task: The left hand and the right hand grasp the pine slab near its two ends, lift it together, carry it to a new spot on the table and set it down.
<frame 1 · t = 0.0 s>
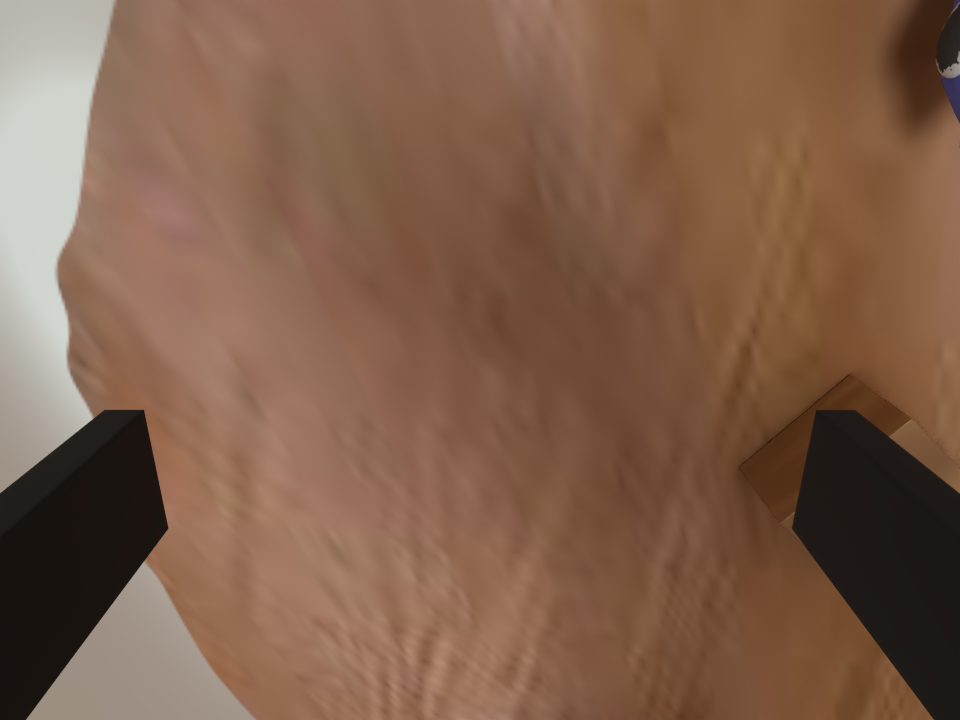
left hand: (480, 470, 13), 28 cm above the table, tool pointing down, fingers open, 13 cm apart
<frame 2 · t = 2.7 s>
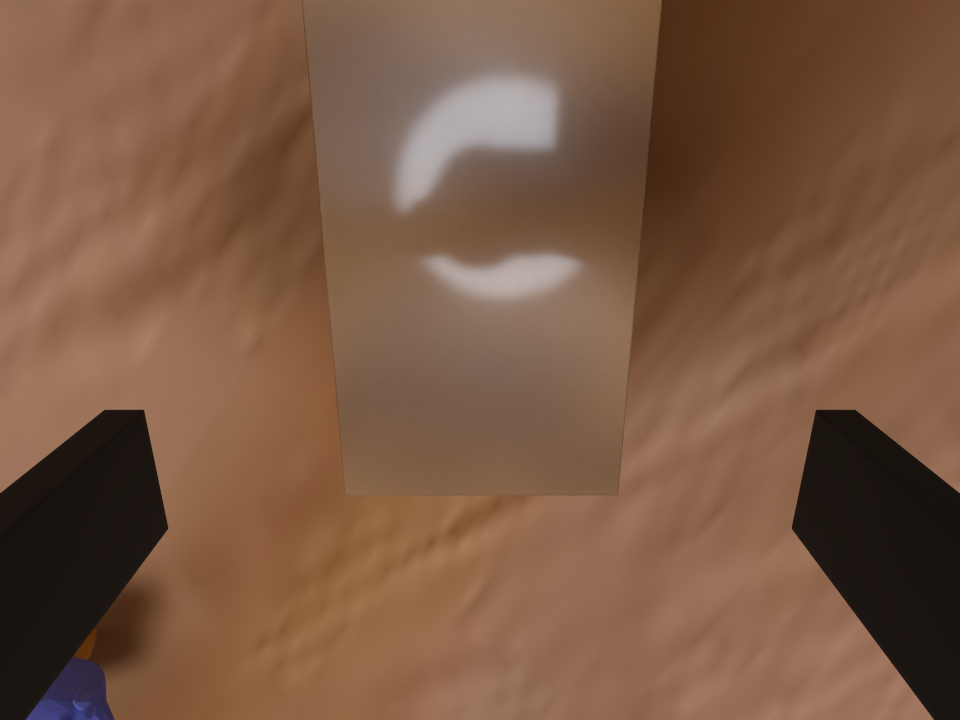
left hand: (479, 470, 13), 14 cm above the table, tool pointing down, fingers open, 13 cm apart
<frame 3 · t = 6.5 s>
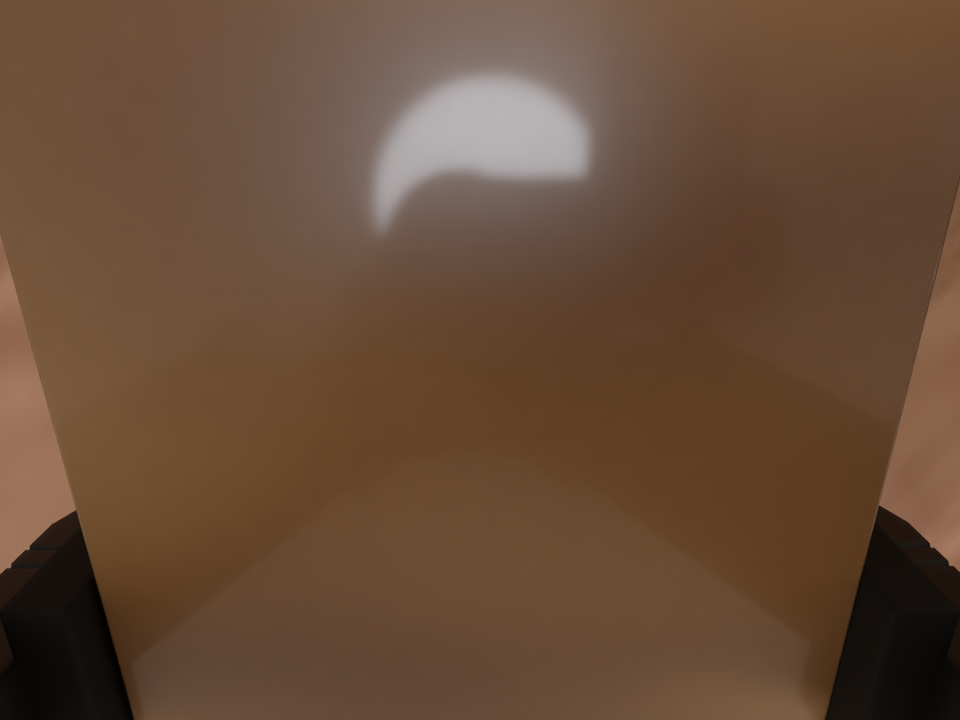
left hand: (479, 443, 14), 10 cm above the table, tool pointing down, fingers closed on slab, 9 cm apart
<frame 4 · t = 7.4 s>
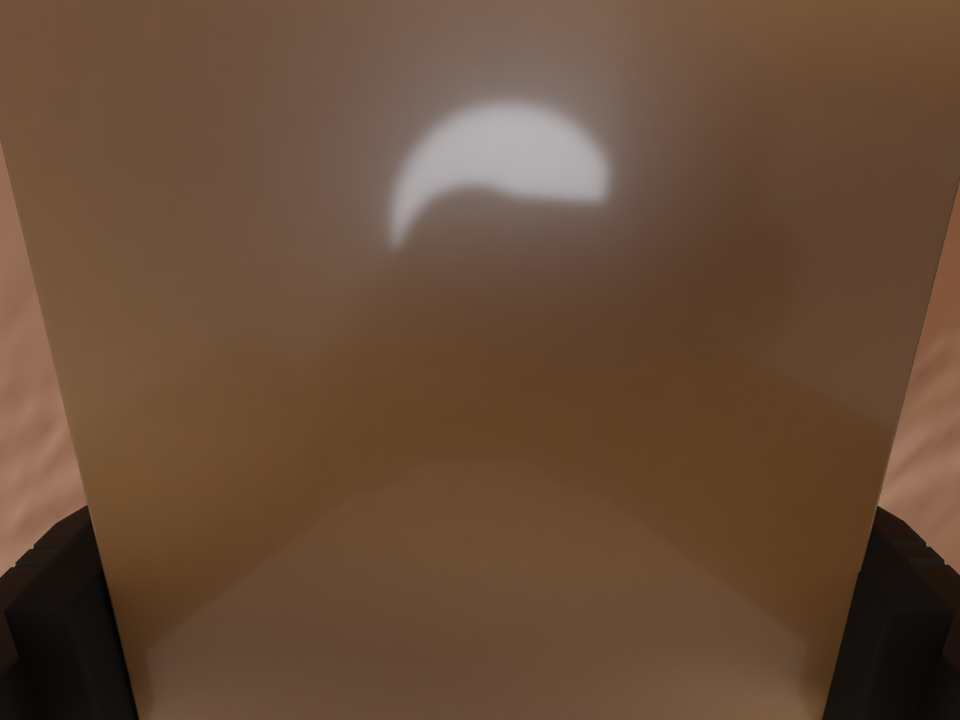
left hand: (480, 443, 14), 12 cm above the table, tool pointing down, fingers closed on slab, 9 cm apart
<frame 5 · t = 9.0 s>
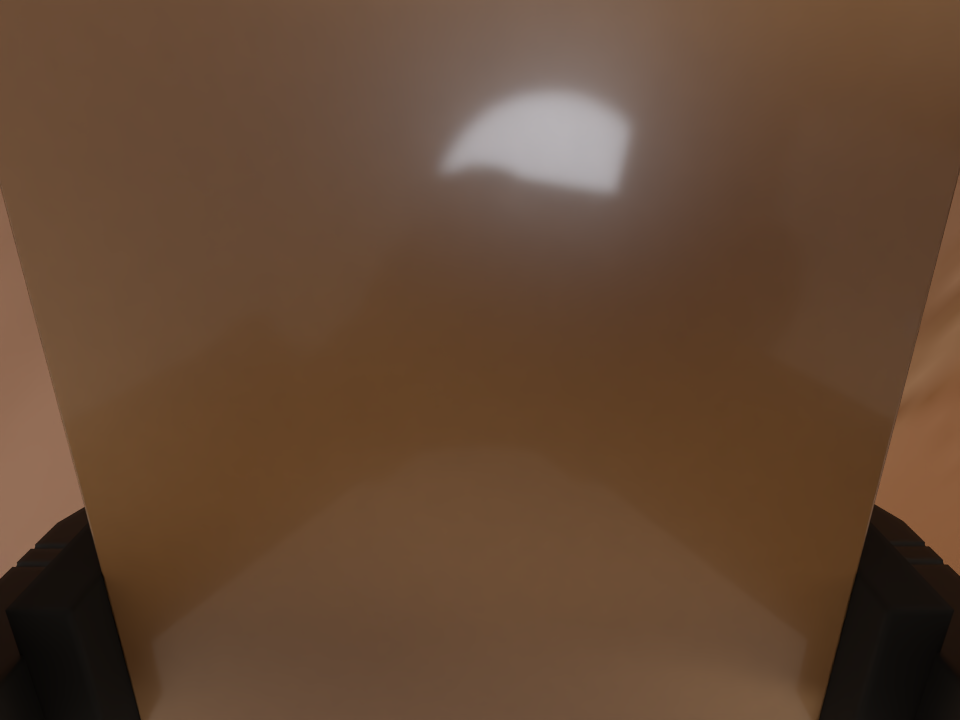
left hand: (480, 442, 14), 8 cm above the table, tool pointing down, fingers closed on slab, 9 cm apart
when the left hand's fingers open (2 cm above the table, at t = 10.2 s): slab drops 1 cm, on the table.
when the right hand's fingers open (2 cm above the table, at t = 10.2 s): slab drops 1 cm, on the table.
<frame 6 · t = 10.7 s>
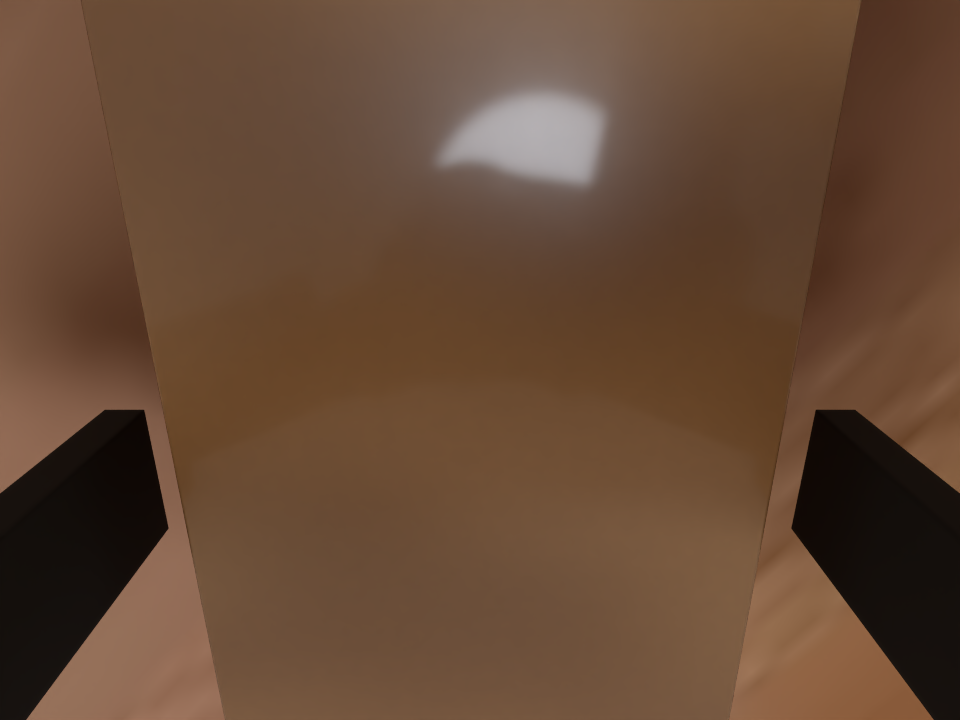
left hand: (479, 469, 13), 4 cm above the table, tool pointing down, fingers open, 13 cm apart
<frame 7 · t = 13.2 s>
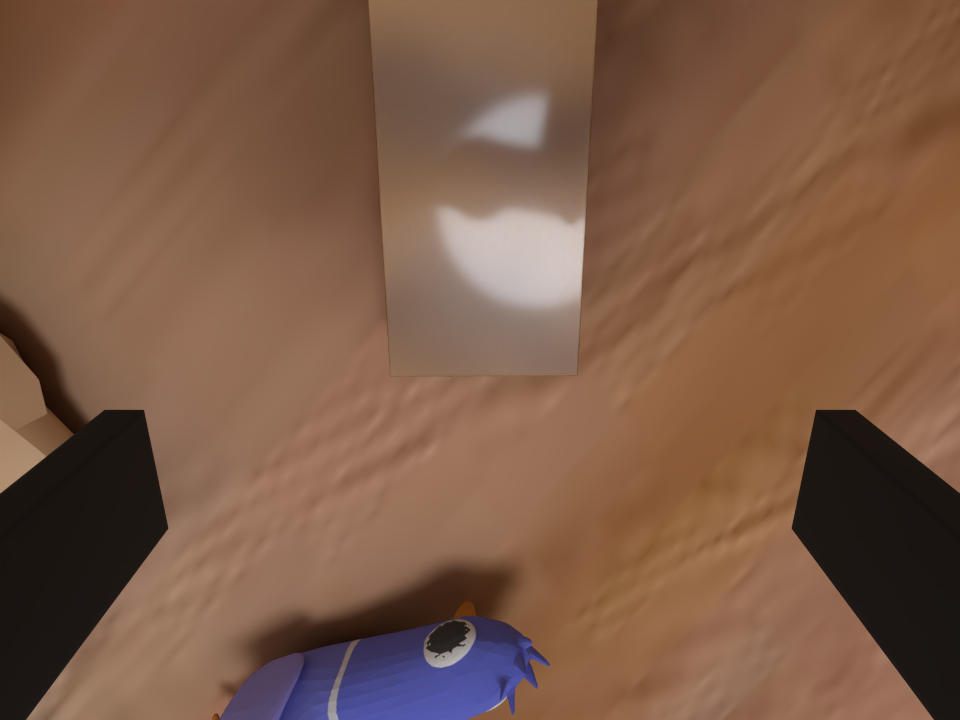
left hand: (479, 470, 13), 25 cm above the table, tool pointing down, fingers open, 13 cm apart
toy: (382, 643, 47), on the table
squash: (16, 398, 40), on the table
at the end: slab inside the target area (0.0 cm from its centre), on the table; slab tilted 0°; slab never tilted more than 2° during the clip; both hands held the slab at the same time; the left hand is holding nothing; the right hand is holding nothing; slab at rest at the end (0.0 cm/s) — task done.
